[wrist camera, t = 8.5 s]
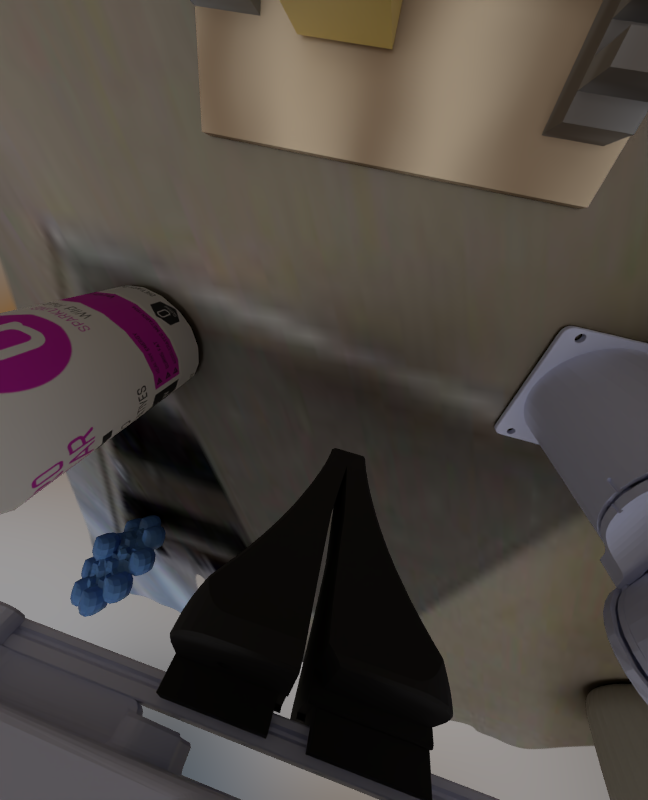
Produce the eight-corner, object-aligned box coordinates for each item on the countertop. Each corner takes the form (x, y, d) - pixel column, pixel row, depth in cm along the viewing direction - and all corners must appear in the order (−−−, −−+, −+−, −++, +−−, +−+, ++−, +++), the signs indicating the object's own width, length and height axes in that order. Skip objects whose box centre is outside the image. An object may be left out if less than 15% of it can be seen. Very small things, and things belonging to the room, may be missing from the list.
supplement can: (108, 264, 20) (-354, 326, 8) (211, 314, 20) (-74, 452, 8) (114, 355, 25) (-169, 486, 12) (198, 395, 25) (4, 561, 13)
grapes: (164, 491, 35) (73, 596, 25) (195, 524, 38) (125, 630, 28) (110, 500, 40) (15, 591, 30) (142, 529, 42) (65, 621, 33)
